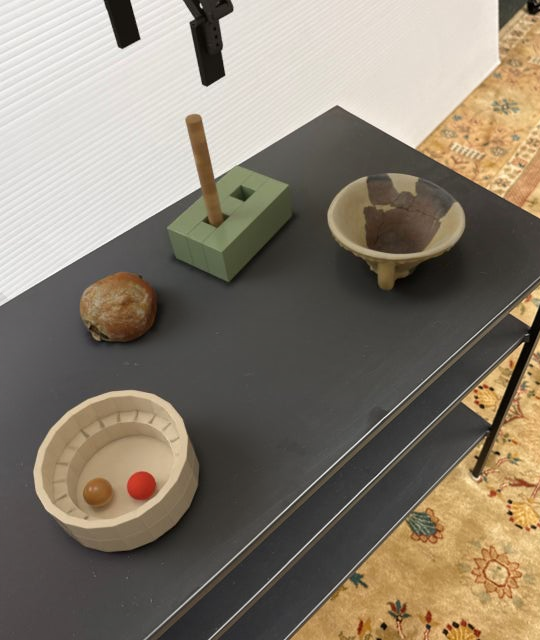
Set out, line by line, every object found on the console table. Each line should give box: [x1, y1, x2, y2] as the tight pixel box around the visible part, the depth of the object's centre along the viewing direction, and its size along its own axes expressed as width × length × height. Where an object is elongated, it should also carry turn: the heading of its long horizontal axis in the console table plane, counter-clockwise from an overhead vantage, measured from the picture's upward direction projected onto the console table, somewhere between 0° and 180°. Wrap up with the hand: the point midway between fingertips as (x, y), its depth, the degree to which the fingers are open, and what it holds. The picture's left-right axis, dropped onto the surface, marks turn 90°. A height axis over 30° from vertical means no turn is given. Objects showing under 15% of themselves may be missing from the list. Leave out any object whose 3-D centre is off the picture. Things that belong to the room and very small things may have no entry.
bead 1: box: [83, 478, 113, 507], centre depth 69 cm, size 3×3×3 cm
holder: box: [166, 164, 293, 283], centre depth 94 cm, size 10×16×6 cm, turn 148°
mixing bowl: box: [33, 389, 200, 553], centre depth 69 cm, size 16×16×7 cm
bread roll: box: [79, 271, 158, 343], centre depth 86 cm, size 10×10×8 cm
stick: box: [184, 113, 224, 228], centre depth 87 cm, size 2×2×22 cm
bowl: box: [326, 172, 466, 291], centre depth 88 cm, size 18×18×10 cm
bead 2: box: [127, 471, 156, 500], centre depth 69 cm, size 3×3×3 cm
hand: (170, 61), depth 70 cm, fingers open, 13 cm apart
